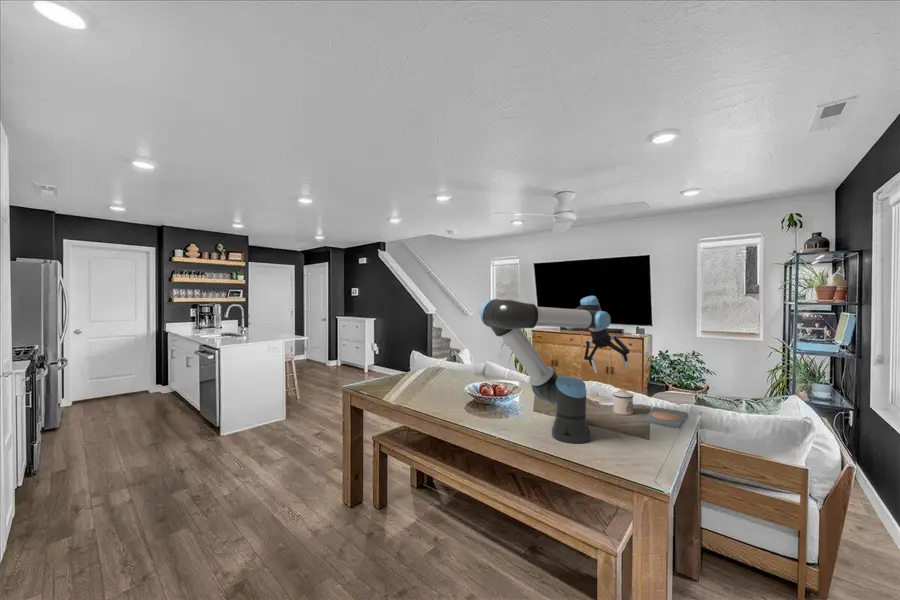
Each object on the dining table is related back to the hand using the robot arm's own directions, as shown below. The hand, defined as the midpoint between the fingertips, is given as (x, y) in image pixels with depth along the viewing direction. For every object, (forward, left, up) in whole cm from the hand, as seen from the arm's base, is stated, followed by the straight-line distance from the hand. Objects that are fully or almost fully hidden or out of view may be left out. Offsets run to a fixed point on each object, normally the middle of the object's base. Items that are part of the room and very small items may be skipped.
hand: (611, 369), depth 179 cm
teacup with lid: (+11, +3, -22) cm, 25 cm away
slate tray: (+22, -11, -22) cm, 33 cm away
